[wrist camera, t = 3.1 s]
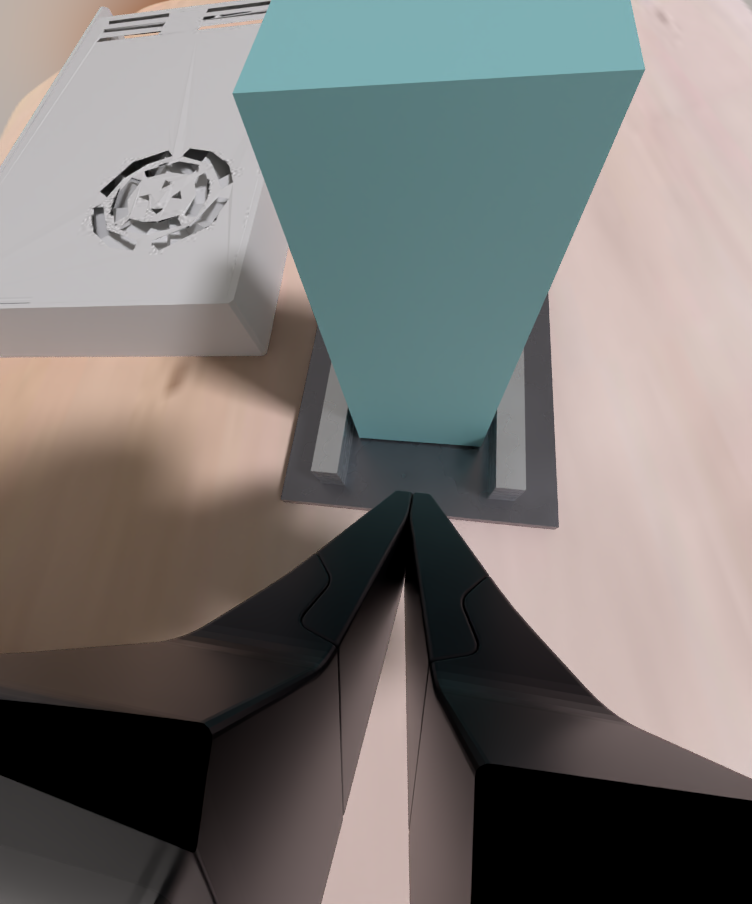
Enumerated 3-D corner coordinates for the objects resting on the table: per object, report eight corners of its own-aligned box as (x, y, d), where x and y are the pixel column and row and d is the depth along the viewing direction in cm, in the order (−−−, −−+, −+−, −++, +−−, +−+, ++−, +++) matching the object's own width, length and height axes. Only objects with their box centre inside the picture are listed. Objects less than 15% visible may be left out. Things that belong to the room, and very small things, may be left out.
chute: (553, 529, 17) (587, 513, 14) (284, 502, 19) (256, 482, 16) (542, 240, 23) (563, 181, 20) (339, 240, 25) (327, 185, 22)
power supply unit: (329, 58, 34) (316, -25, 30) (270, 362, 23) (233, 303, 18) (142, 77, 37) (102, 3, 32) (2, 362, 25) (-91, 310, 21)
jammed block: (480, 446, 18) (645, 68, 5) (359, 437, 19) (232, 93, 6) (483, 359, 20) (610, -92, 7) (371, 354, 21) (293, -56, 8)
